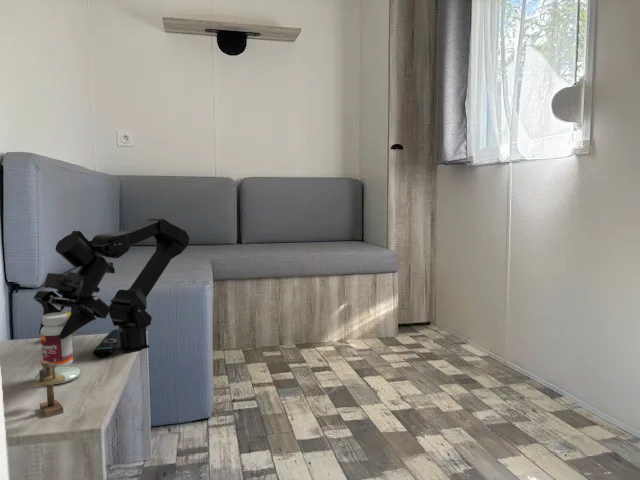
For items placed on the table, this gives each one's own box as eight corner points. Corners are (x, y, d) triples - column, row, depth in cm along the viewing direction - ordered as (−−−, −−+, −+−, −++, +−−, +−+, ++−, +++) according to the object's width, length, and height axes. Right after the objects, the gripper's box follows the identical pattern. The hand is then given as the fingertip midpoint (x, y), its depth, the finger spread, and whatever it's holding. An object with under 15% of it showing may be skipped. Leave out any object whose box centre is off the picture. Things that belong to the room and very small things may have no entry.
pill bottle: (36, 367, 115) (32, 318, 113) (55, 358, 121) (51, 310, 119) (61, 369, 114) (57, 319, 112) (79, 359, 120) (75, 311, 118)
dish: (73, 368, 124) (73, 363, 124) (85, 379, 117) (85, 374, 117) (31, 377, 118) (31, 373, 118) (41, 389, 111) (41, 384, 111)
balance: (34, 403, 104) (30, 353, 103) (54, 398, 107) (50, 349, 105) (48, 423, 96) (45, 368, 95) (69, 417, 98) (66, 364, 97)
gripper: (37, 256, 122) (-4, 313, 113) (95, 261, 114) (56, 323, 106) (68, 282, 130) (31, 338, 121) (124, 288, 122) (90, 348, 114)
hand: (50, 336), depth 115 cm, fingers closed on pill bottle, 6 cm apart
